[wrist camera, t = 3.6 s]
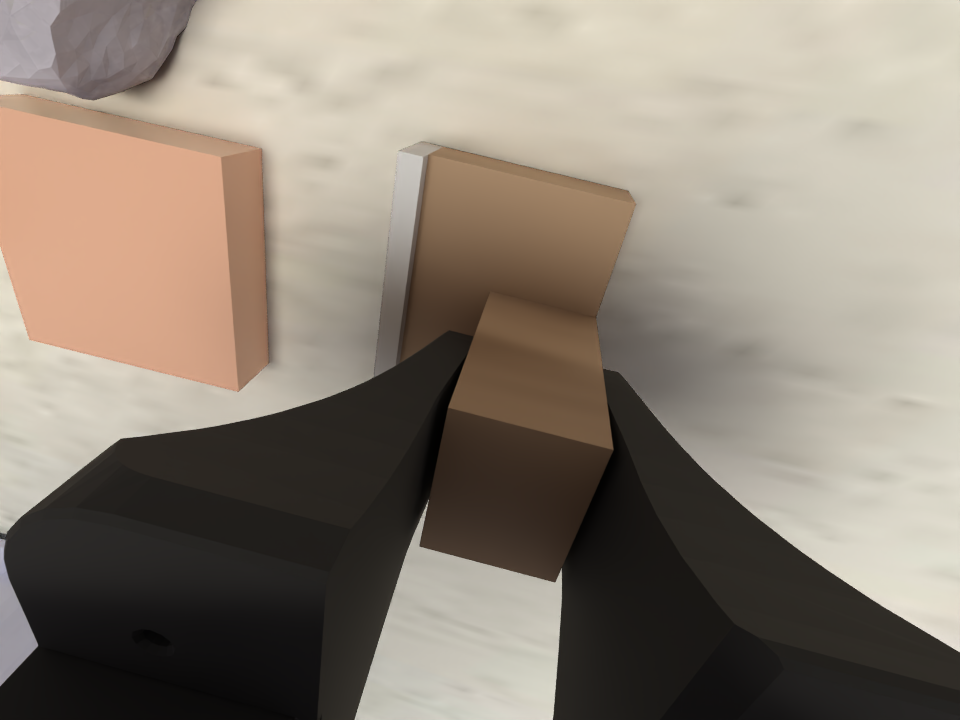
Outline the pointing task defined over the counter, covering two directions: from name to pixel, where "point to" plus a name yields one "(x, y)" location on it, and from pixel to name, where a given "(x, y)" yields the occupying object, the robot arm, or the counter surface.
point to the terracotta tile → (134, 240)
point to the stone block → (87, 43)
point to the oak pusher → (506, 345)
